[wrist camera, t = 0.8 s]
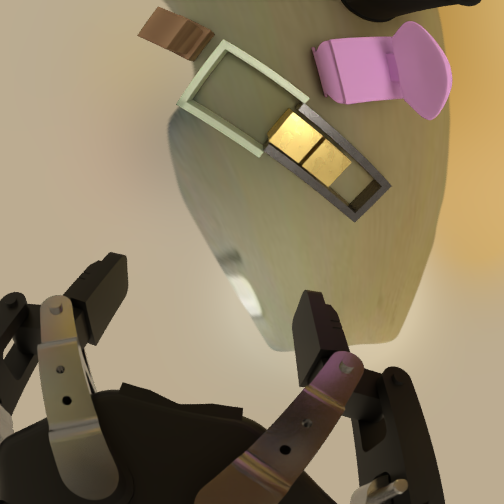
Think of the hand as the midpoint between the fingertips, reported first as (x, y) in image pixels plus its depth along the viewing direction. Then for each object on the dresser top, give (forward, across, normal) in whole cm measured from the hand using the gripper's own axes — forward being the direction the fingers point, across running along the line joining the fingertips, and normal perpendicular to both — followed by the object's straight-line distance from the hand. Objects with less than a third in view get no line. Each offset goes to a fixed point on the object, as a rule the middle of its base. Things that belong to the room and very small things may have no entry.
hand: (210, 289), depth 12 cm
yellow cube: (+23, -5, -7) cm, 24 cm away
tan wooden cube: (+24, -9, -5) cm, 26 cm away
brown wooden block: (+21, +9, -16) cm, 28 cm away
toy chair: (+22, -9, -16) cm, 29 cm away
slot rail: (+24, -10, -5) cm, 26 cm away
